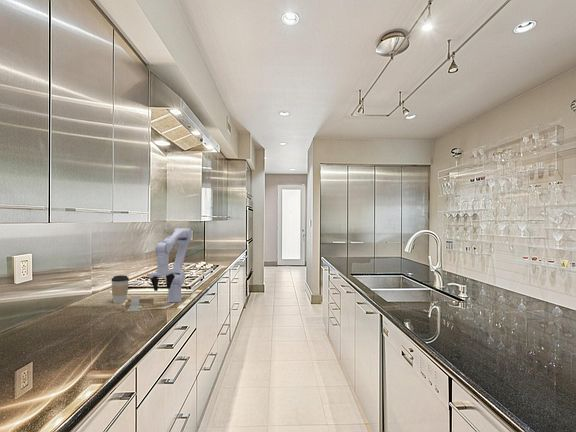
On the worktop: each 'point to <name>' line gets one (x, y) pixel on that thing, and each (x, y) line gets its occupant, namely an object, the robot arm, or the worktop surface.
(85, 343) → the worktop surface
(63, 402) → the worktop surface
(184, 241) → the robot arm
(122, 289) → the coffee cup
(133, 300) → the block
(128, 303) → the wooden corner frame
